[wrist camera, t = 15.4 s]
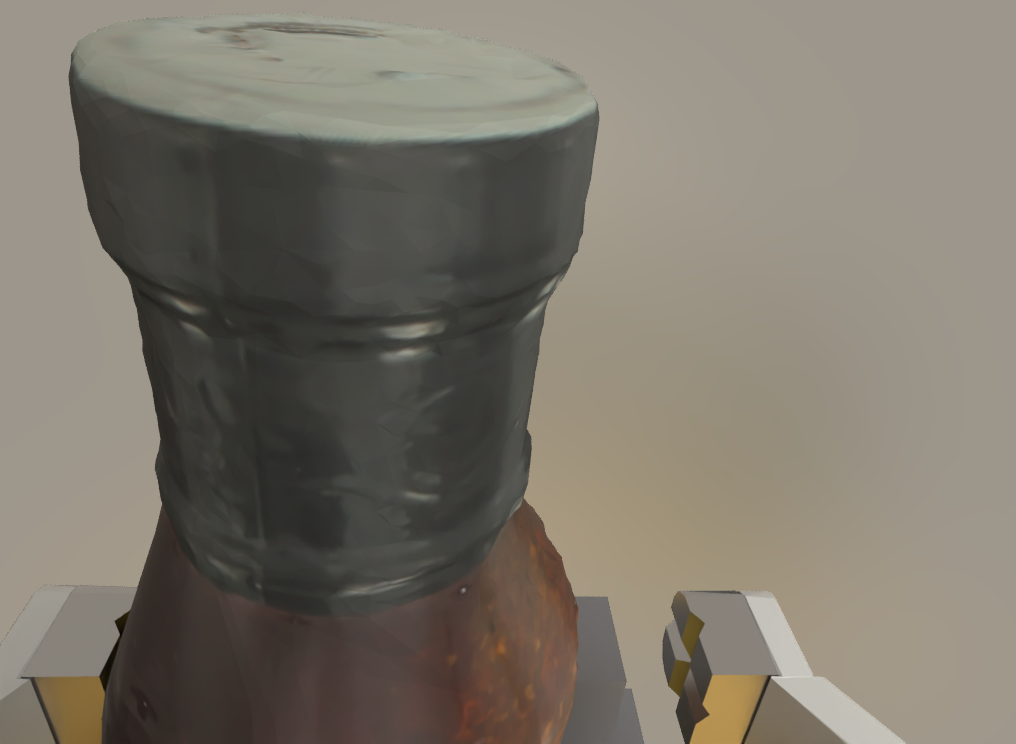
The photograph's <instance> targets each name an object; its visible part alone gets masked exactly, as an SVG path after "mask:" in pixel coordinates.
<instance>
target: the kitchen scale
mask: <svg viewBox="0 0 1016 744" xmlns="http://www.w3.org/2000/svg"><path fill="white" fill-rule="evenodd" d="M575 599H576V602H577V605H578V609H579V610H578V620H577V629H578V643H579V645H578V651H577V664H578V672H577V681H576V685H575V691H574V700H573V706H572V710H571V714H570V717H569V719H568V722H567V724H566V727H565V730H564V734H563V737H562V740H561V743H560V744H644V741H643V737H642V732H641V728H640V723H639V719H638V715H637V711H636V706H635V702H634V698H633V693H632V689H625V685H626V677H625V673H624V669H623V664H622V660H621V655H620V651H619V646H618V642H617V637H616V633H615V629H614V624H613V620H612V615H611V611H610V606H609V602H608V598H607V597H575Z"/></svg>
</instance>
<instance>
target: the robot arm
mask: <svg viewBox="0 0 1016 744" xmlns="http://www.w3.org/2000/svg"><path fill="white" fill-rule="evenodd" d="M137 588H138V587H114V586H84V585H83V586H82V585H80V586H69V585H44V586H43V587H41V588H40V589H39V590H38V591H36V592H35V593H34V594H33V596H32V597H31V599H30V600H29V602H28V603H27V605H26V606H25V608H24V609H23V611H22V612H21V614H20V615H19V617H18V618H17V620H16V622H15V623H14V625H13V626H12V627H11V629H10V631H9V632H8V634H7V635H6V637H5V638H4V640H3V641H2V643H1V644H0V744H102V743H101V741H102V712H103V705H104V697H105V692H106V688H107V684H108V680H109V676H110V672H111V669H112V665H113V662H114V659H115V656H116V653H117V650H118V647H119V644H120V641H121V637H122V634H123V631H124V628H125V625H126V622H127V619H128V616H129V613H130V609H131V606H132V603H133V600H134V597H135V594H136V591H137ZM671 608H672V611H673V615H674V618H675V620H673V621H672V622H671V623H669V624H668V625H667V626H666V629H665V633H664V637H663V664H664V671H665V675H666V678H667V682H668V686H669V687H670V688H671V689H672V690H673V691H674V692H675V693H676V694H677V695H678V696H679V697H680V699H679V702H678V705H677V709H676V714H677V718H678V721H679V724H680V728H681V731H682V735H683V738H684V742H685V744H906V743H905V742H904V741H903V740H901V739H900V738H899V737H898V736H896V735H895V734H894V733H893V732H892V731H890V730H889V729H888V728H886V727H885V726H884V725H883V724H882V723H880V722H879V721H878V720H877V719H875V718H874V717H873V716H872V715H870V714H869V713H868V712H867V711H865V710H864V709H863V708H862V707H860V706H859V705H858V704H857V703H855V702H854V701H853V700H852V699H850V698H849V697H848V696H847V695H846V694H844V693H843V692H842V691H841V690H839V689H838V688H837V687H836V686H834V685H833V684H832V683H830V682H829V681H828V680H827V679H826V678H824V677H822V676H821V677H820V676H814V675H813V673H812V671H811V669H810V667H809V665H808V663H807V661H806V659H805V657H804V655H803V653H802V651H801V649H800V647H799V645H798V643H797V641H796V639H795V637H794V635H793V633H792V631H791V629H790V627H789V624H788V622H787V620H786V618H785V617H784V614H783V612H782V610H781V609H780V606H779V604H778V602H777V600H776V598H775V596H774V595H773V594H772V593H771V592H769V591H738V592H737V591H678V592H677V594H676V595H675V596H674V599H673V603H672V607H671Z"/></svg>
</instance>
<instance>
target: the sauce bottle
mask: <svg viewBox="0 0 1016 744" xmlns="http://www.w3.org/2000/svg"><path fill="white" fill-rule="evenodd" d="M69 86H70V95H71V104H72V109H73V114H74V120H75V125H76V130H77V136H78V141H79V155H80V171H81V175H82V180H83V184H84V189H85V193H86V197H87V205H88V210H89V212H90V215H91V218H92V221H93V224H94V226H95V229H96V232H97V234H98V237H99V239H100V242H101V245H102V247H103V249H104V250H105V251H106V252H107V253H108V254H109V255H110V257H111V258H112V259H113V260H114V261H115V262H116V263H117V265H118V266H119V267H120V268H121V269H122V271H123V272H124V273H125V275H126V276H127V277H128V279H129V282H130V284H131V288H132V293H133V298H134V302H135V305H136V307H137V313H138V320H139V327H140V331H141V335H142V339H143V348H142V351H143V355H144V359H145V363H146V367H147V371H148V375H149V379H150V382H151V386H152V391H153V398H154V404H155V411H156V413H157V419H158V427H159V432H160V438H161V440H160V446H159V452H158V455H157V458H156V463H155V471H156V475H157V479H158V484H159V490H160V497H161V501H162V507H161V511H160V516H159V520H158V524H157V528H156V532H155V535H154V538H153V541H152V544H151V547H150V550H149V554H148V557H147V560H146V563H145V566H144V569H143V572H142V576H141V578H140V581H139V585H138V588H137V591H136V594H135V597H134V600H133V603H132V606H131V609H130V613H129V616H128V619H127V622H126V625H125V628H124V631H123V634H122V637H121V641H120V644H119V647H118V650H117V653H116V656H115V659H114V662H113V665H112V669H111V672H110V676H109V680H108V684H107V688H106V692H105V697H104V705H103V712H102V741H101V743H102V744H560V743H561V740H562V737H563V734H564V730H565V727H566V724H567V722H568V719H569V717H570V714H571V710H572V706H573V700H574V691H575V685H576V681H577V672H578V664H577V651H578V645H579V643H578V629H577V620H578V610H579V609H578V605H577V602H576V599H575V597H574V594H573V592H572V588H571V584H570V582H569V581H568V579H567V577H566V574H565V570H564V566H563V562H562V557H561V556H560V554H559V553H558V552H557V550H556V549H555V547H554V546H553V545H552V542H551V541H550V540H549V539H548V538H547V535H546V533H545V528H544V524H543V521H542V520H541V518H540V517H539V516H538V514H537V513H536V512H535V510H534V509H533V507H531V506H530V505H529V504H528V503H527V502H526V500H525V499H524V498H523V497H524V494H525V491H526V487H527V485H528V477H529V468H530V458H531V449H532V448H531V436H530V434H529V432H528V430H527V429H526V428H527V423H528V417H529V411H530V404H531V398H532V392H533V385H534V378H535V371H536V366H537V360H538V355H539V343H540V335H541V331H542V328H543V324H544V316H545V309H546V306H547V302H548V300H549V298H550V297H551V295H552V294H553V292H554V291H555V289H556V288H557V286H558V285H559V283H560V282H561V281H562V279H563V277H564V276H565V274H566V273H567V271H568V269H569V267H570V264H571V261H572V258H573V256H574V255H575V254H576V253H577V252H578V246H579V241H580V238H581V236H582V234H583V224H584V212H585V202H586V198H587V193H588V189H589V185H590V181H591V174H592V165H593V158H594V152H595V145H596V139H597V132H598V125H599V111H598V104H597V102H596V100H595V98H594V97H593V95H592V93H591V91H590V90H589V88H588V85H587V83H586V81H585V80H584V78H583V76H581V75H579V74H577V73H576V72H574V71H572V70H570V69H569V68H567V67H565V66H564V65H562V64H561V63H559V62H557V61H554V60H551V59H548V58H545V57H542V56H540V55H538V54H536V53H533V52H531V51H527V50H521V49H515V48H511V47H507V46H503V45H499V44H497V43H494V42H491V41H488V40H485V39H482V38H476V37H468V36H463V35H460V34H456V33H453V32H449V31H446V30H442V29H428V28H420V27H416V26H413V25H407V24H404V25H403V24H393V23H384V22H375V21H368V20H361V19H354V18H329V17H326V18H325V17H318V16H314V15H310V14H306V13H305V14H304V13H303V14H280V15H277V14H260V15H248V14H229V15H228V14H227V15H215V16H204V17H164V18H147V19H141V20H134V21H128V22H121V23H116V24H113V25H110V26H107V27H104V28H102V29H99V30H97V31H96V32H94V33H91V34H89V35H87V36H85V37H84V38H83V39H81V40H80V41H79V42H78V43H77V45H76V47H75V49H74V50H73V52H72V54H71V66H70V71H69Z"/></svg>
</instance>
